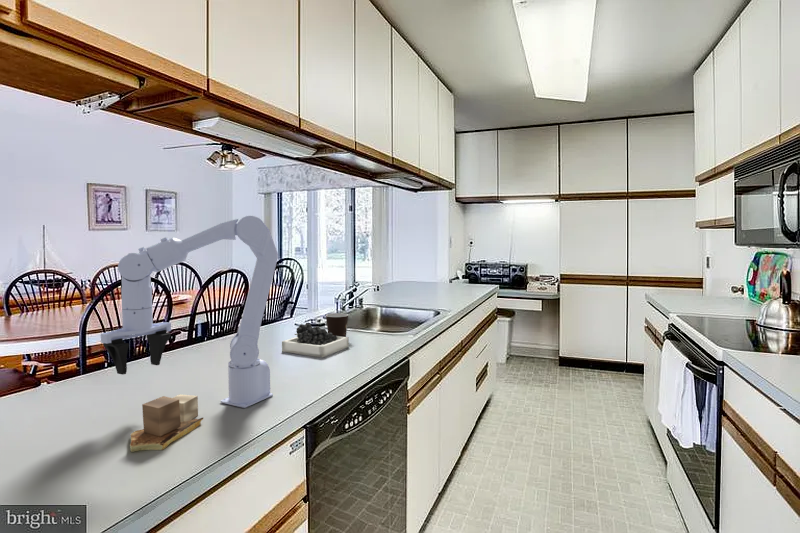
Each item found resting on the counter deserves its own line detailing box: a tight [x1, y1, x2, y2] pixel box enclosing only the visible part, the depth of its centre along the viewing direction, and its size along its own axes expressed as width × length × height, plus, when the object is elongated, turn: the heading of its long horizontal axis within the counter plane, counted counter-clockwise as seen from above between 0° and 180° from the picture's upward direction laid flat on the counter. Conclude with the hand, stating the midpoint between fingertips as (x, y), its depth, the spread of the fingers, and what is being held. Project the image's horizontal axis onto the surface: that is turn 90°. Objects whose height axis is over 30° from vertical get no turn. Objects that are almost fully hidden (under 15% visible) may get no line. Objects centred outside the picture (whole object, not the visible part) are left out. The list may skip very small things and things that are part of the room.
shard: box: [129, 417, 204, 453], centre depth 84 cm, size 13×9×2 cm
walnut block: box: [141, 395, 181, 436], centre depth 85 cm, size 4×4×6 cm
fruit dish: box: [281, 336, 350, 358], centre depth 154 cm, size 16×17×4 cm
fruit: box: [294, 323, 337, 345], centre depth 154 cm, size 9×8×15 cm
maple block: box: [172, 394, 199, 422], centre depth 94 cm, size 4×4×4 cm
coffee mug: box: [325, 312, 349, 337], centre depth 169 cm, size 12×9×10 cm
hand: (139, 369), depth 96 cm, fingers open, 7 cm apart
